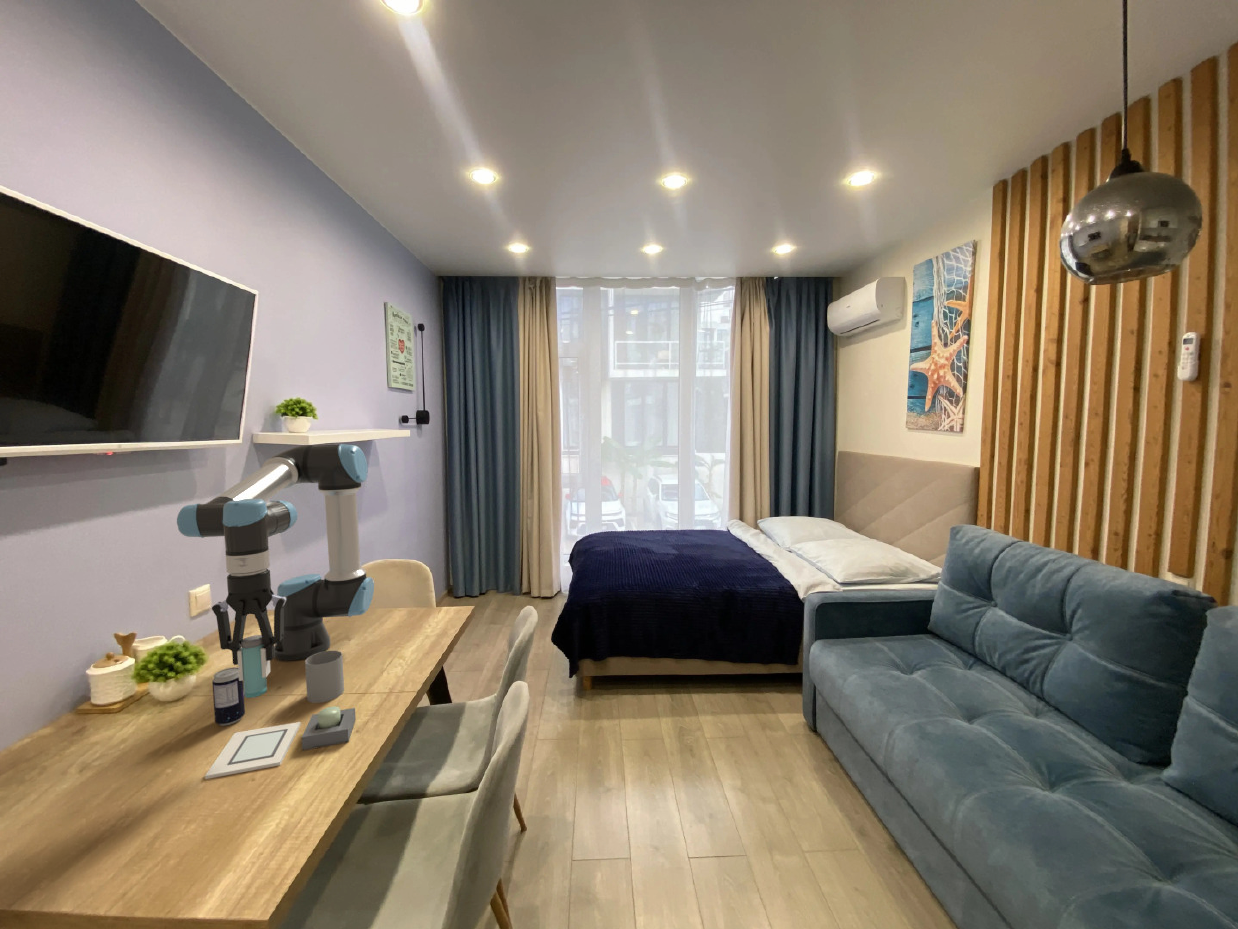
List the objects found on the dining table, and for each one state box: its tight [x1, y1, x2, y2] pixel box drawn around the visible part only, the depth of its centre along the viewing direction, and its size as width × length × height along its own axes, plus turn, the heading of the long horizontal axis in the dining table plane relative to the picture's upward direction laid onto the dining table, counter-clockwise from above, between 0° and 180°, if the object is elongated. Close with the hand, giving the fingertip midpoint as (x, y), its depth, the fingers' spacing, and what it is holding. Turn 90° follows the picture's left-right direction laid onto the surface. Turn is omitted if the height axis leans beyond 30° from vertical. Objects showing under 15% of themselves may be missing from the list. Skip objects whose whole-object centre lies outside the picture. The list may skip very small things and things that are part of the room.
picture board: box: [204, 721, 302, 780], centre depth 110 cm, size 15×13×1 cm
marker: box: [241, 634, 268, 699], centre depth 110 cm, size 4×4×12 cm
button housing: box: [301, 707, 356, 751], centre depth 115 cm, size 9×9×3 cm
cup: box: [304, 650, 345, 704], centre depth 132 cm, size 8×8×10 cm
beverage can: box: [212, 667, 246, 727], centre depth 120 cm, size 6×6×12 cm
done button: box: [317, 706, 341, 729], centre depth 115 cm, size 4×4×3 cm
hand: (255, 676), depth 110 cm, fingers closed on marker, 4 cm apart
